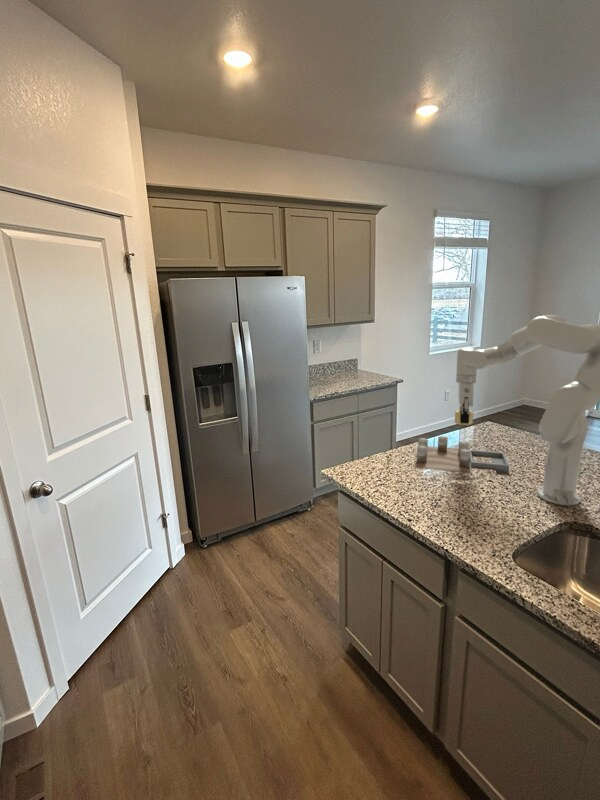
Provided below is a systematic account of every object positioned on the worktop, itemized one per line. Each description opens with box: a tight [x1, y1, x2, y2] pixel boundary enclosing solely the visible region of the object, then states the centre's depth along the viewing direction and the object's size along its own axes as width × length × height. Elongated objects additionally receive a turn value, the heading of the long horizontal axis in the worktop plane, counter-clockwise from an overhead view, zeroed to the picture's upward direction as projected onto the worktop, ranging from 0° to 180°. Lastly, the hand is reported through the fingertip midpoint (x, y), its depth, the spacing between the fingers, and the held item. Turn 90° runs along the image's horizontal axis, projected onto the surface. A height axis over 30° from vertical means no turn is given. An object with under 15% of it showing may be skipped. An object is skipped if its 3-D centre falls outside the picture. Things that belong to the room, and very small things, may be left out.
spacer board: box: [416, 435, 471, 474], centre depth 169 cm, size 26×21×7 cm
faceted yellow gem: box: [454, 409, 474, 426], centre depth 162 cm, size 7×6×5 cm
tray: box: [468, 449, 510, 473], centre depth 164 cm, size 14×14×3 cm
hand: (463, 420), depth 163 cm, fingers closed on faceted yellow gem, 6 cm apart
